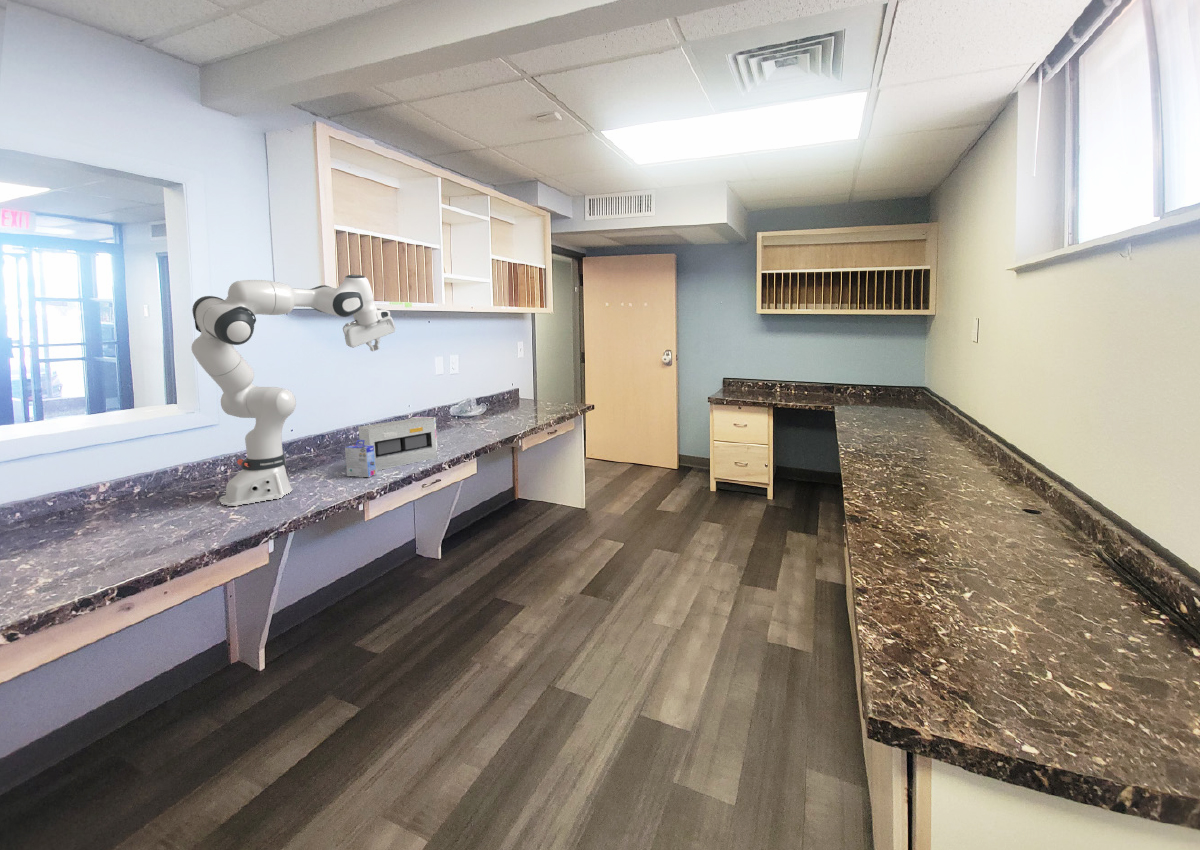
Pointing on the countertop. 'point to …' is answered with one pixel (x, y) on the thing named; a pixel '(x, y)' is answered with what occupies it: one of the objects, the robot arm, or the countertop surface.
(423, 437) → the button
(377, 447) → the button
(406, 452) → the metal drawer cabinet
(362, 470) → the ink cartridge box
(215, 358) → the robot arm
